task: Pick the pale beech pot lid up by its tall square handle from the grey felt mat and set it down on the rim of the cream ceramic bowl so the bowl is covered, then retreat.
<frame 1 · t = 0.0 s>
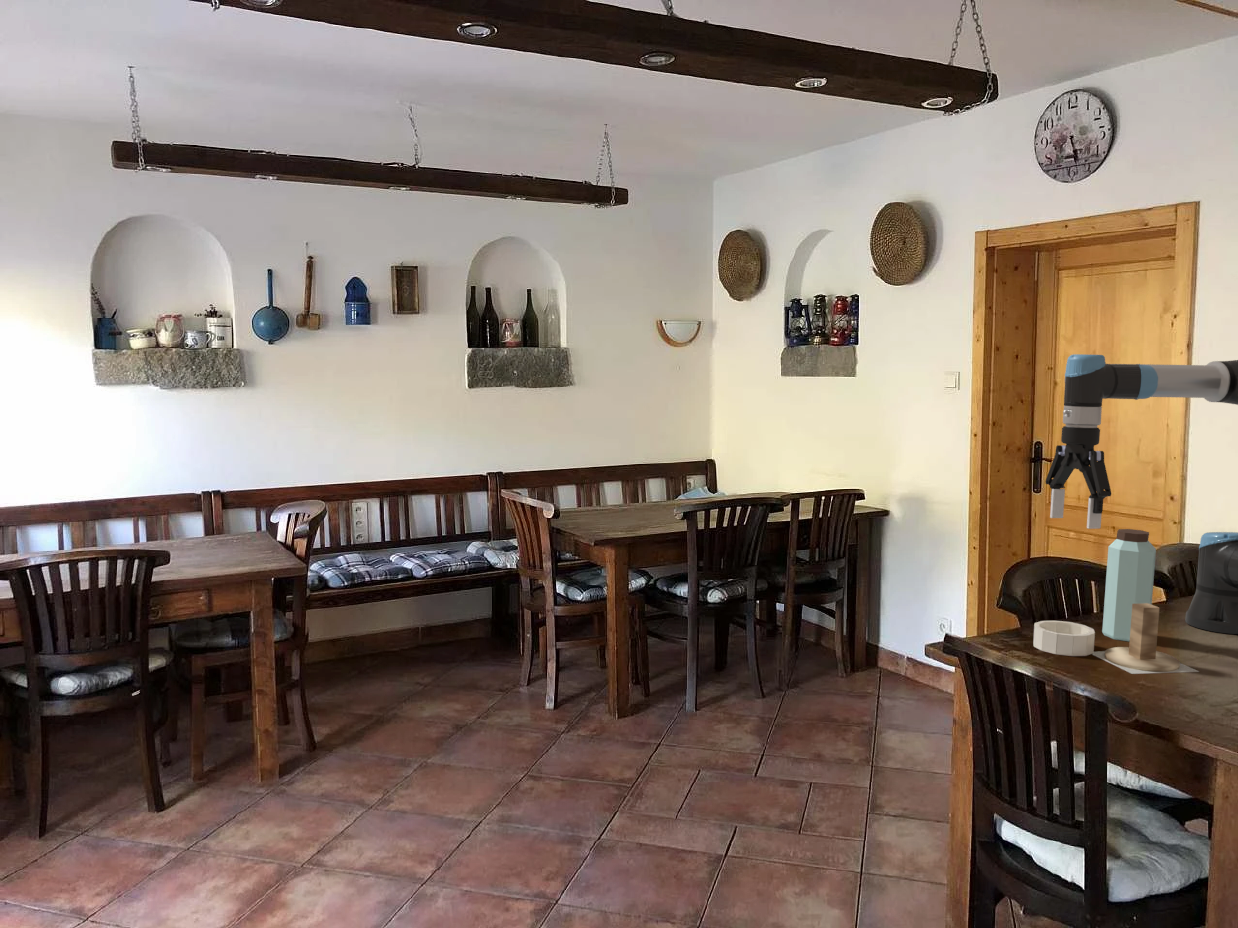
hand: (1074, 523, 219), 28 cm above the table, fingers open, 13 cm apart
mat: (1141, 663, 211), on the table
bowl: (1062, 650, 221), on the table
water bottle: (1125, 639, 230), on the table
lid: (1141, 661, 211), point 1 cm above the table, touching mat
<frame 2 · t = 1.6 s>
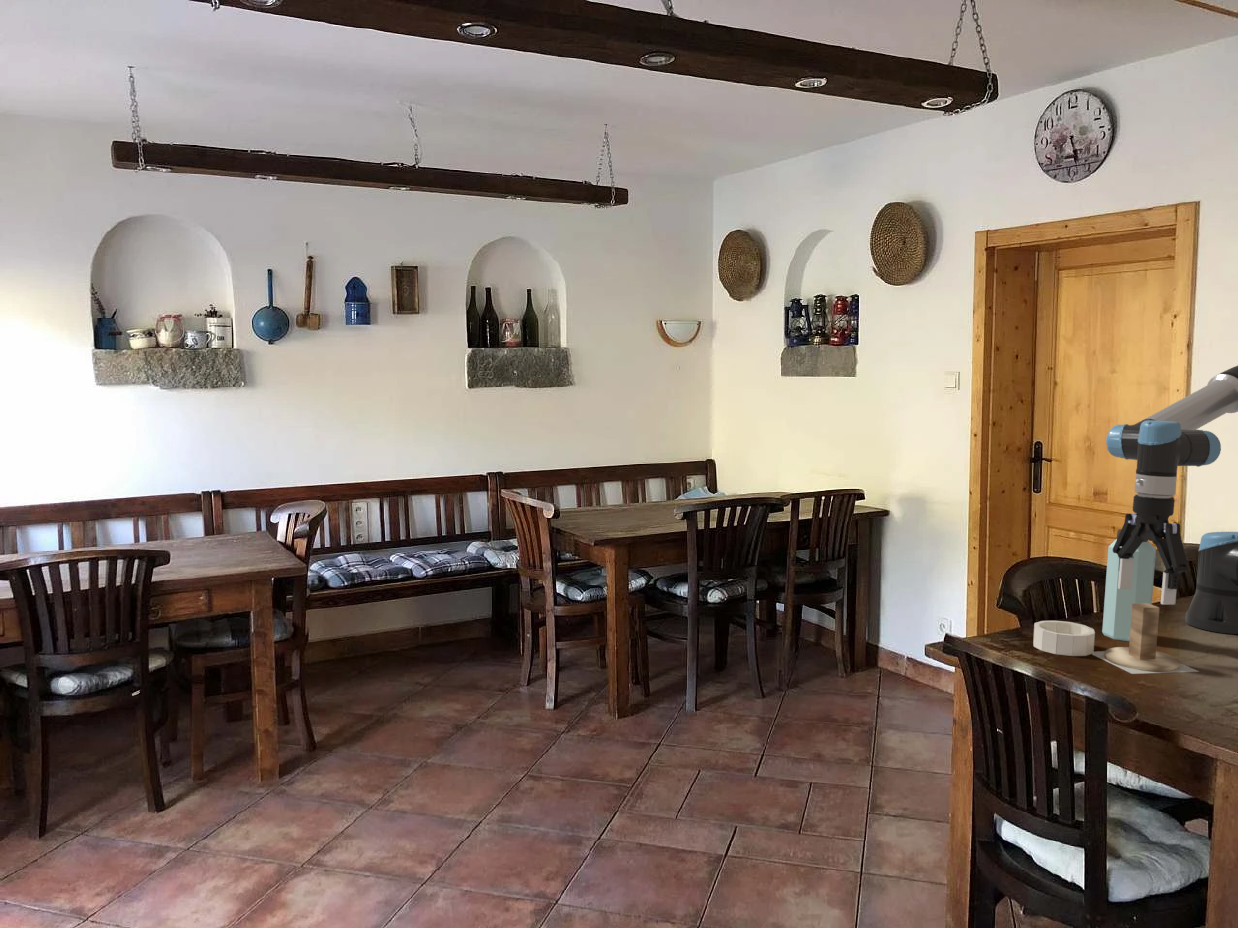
hand: (1145, 596, 210), 15 cm above the table, fingers open, 13 cm apart
nothing on the table moved.
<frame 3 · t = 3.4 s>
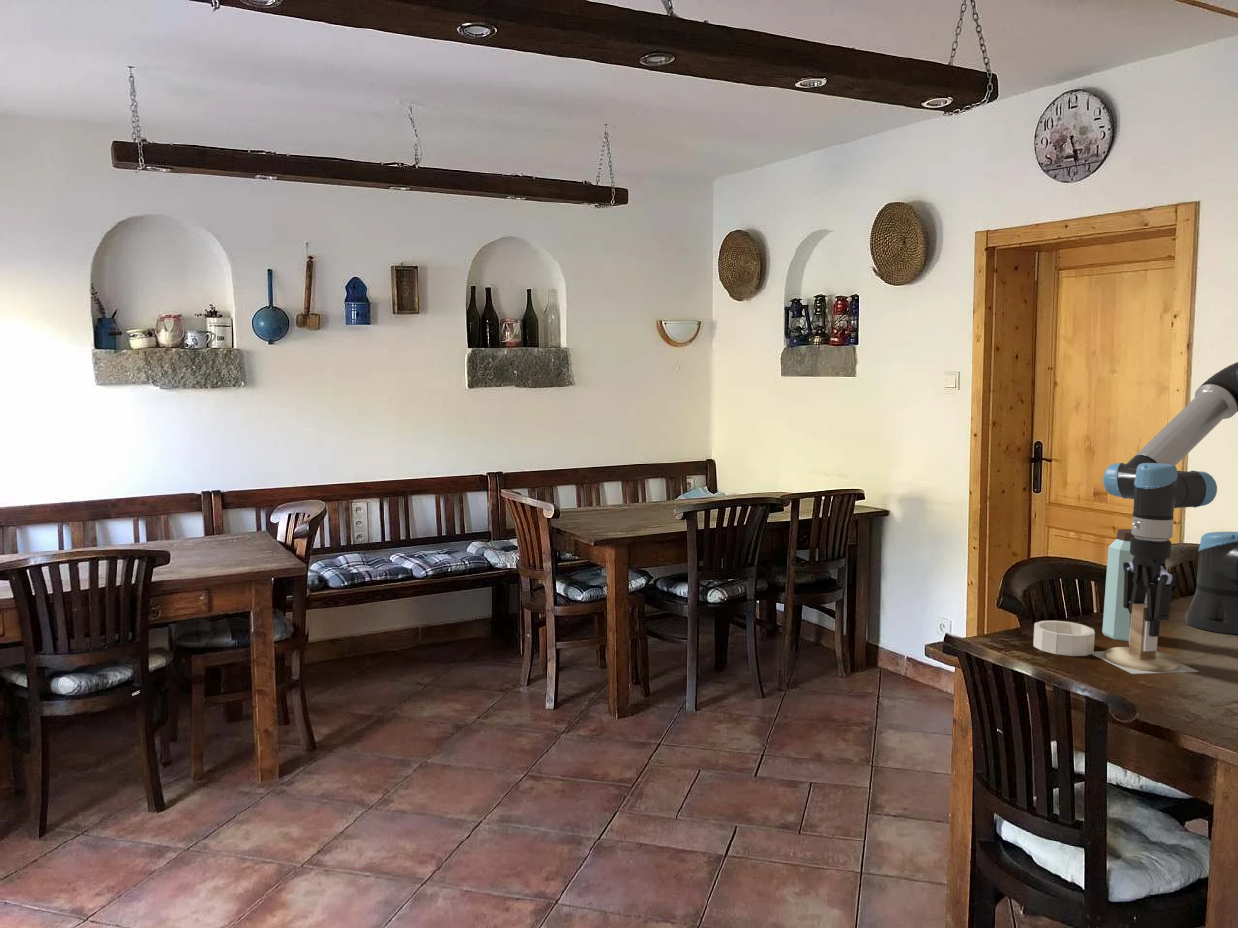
hand: (1142, 647, 211), 4 cm above the table, fingers closed on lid, 4 cm apart
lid: (1141, 661, 211), point 1 cm above the table, touching gripper
everything else where it was.
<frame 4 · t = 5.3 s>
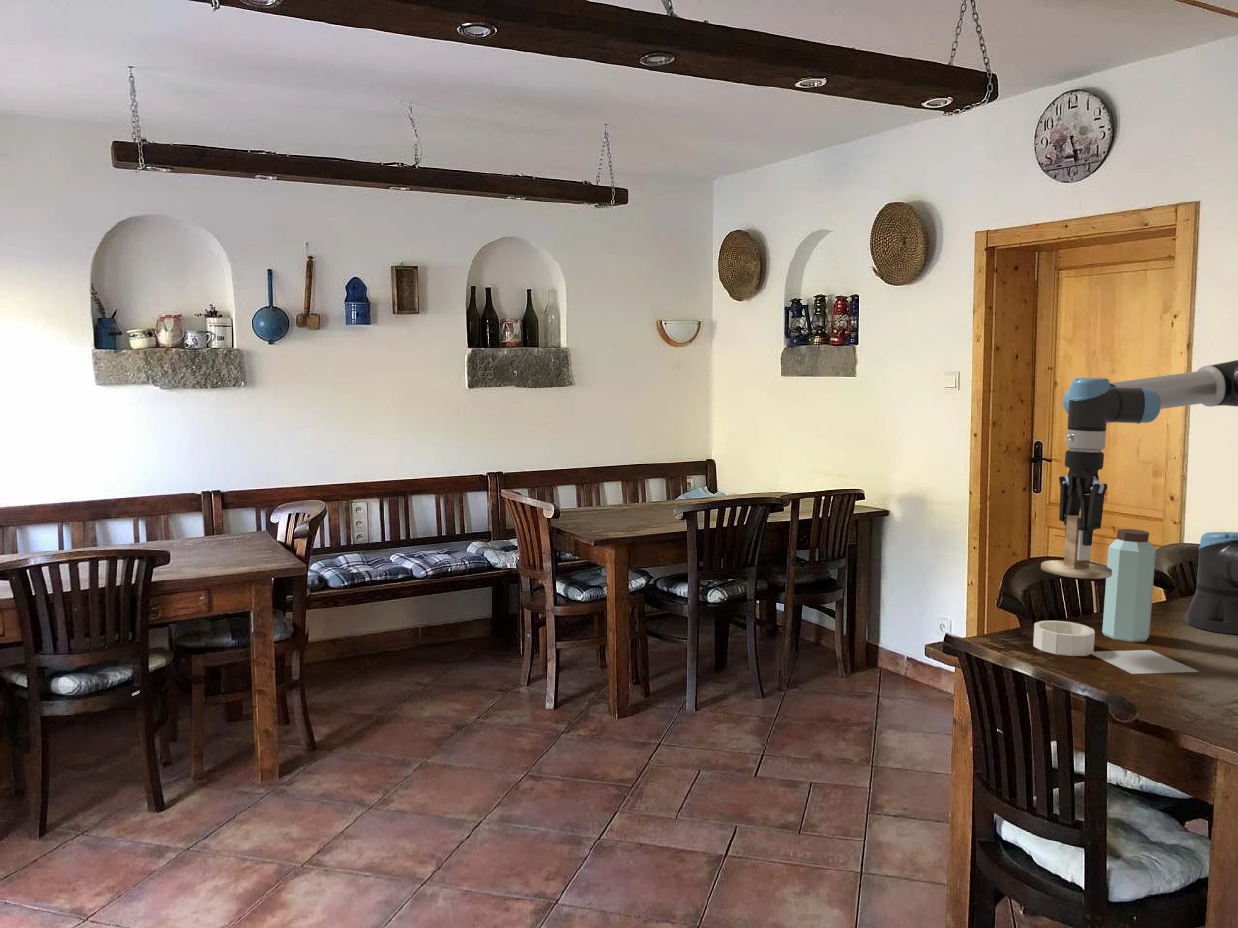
hand: (1076, 557, 217), 21 cm above the table, fingers closed on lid, 4 cm apart
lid: (1075, 571, 217), point 18 cm above the table, touching gripper
everything else where it was.
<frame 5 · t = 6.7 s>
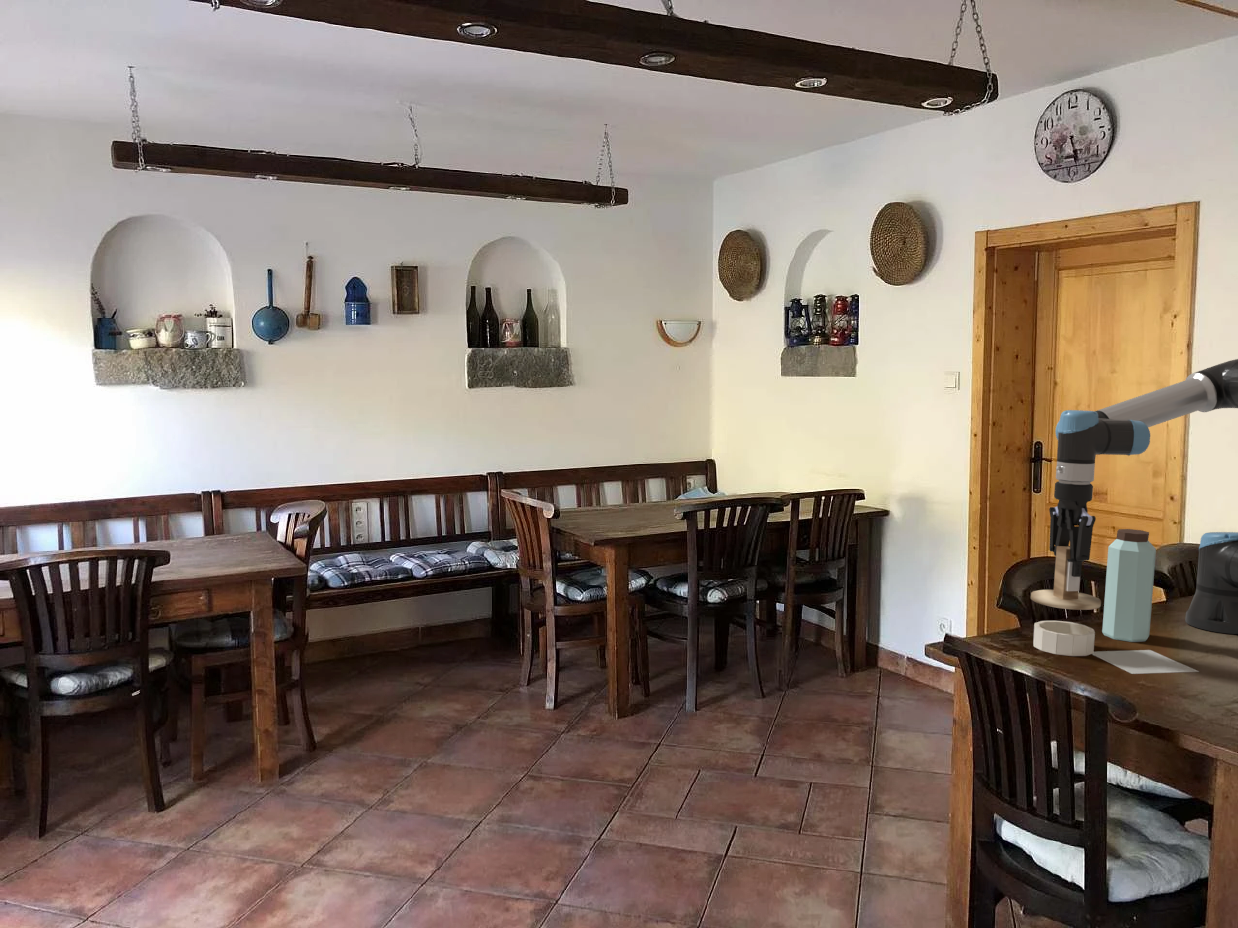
hand: (1066, 588, 219), 14 cm above the table, fingers closed on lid, 4 cm apart
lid: (1065, 601, 219), point 11 cm above the table, touching gripper
everything else where it was.
when the fingers open (10 cm above the table, at t = 7.7 s): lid drops 2 cm, resting on bowl.
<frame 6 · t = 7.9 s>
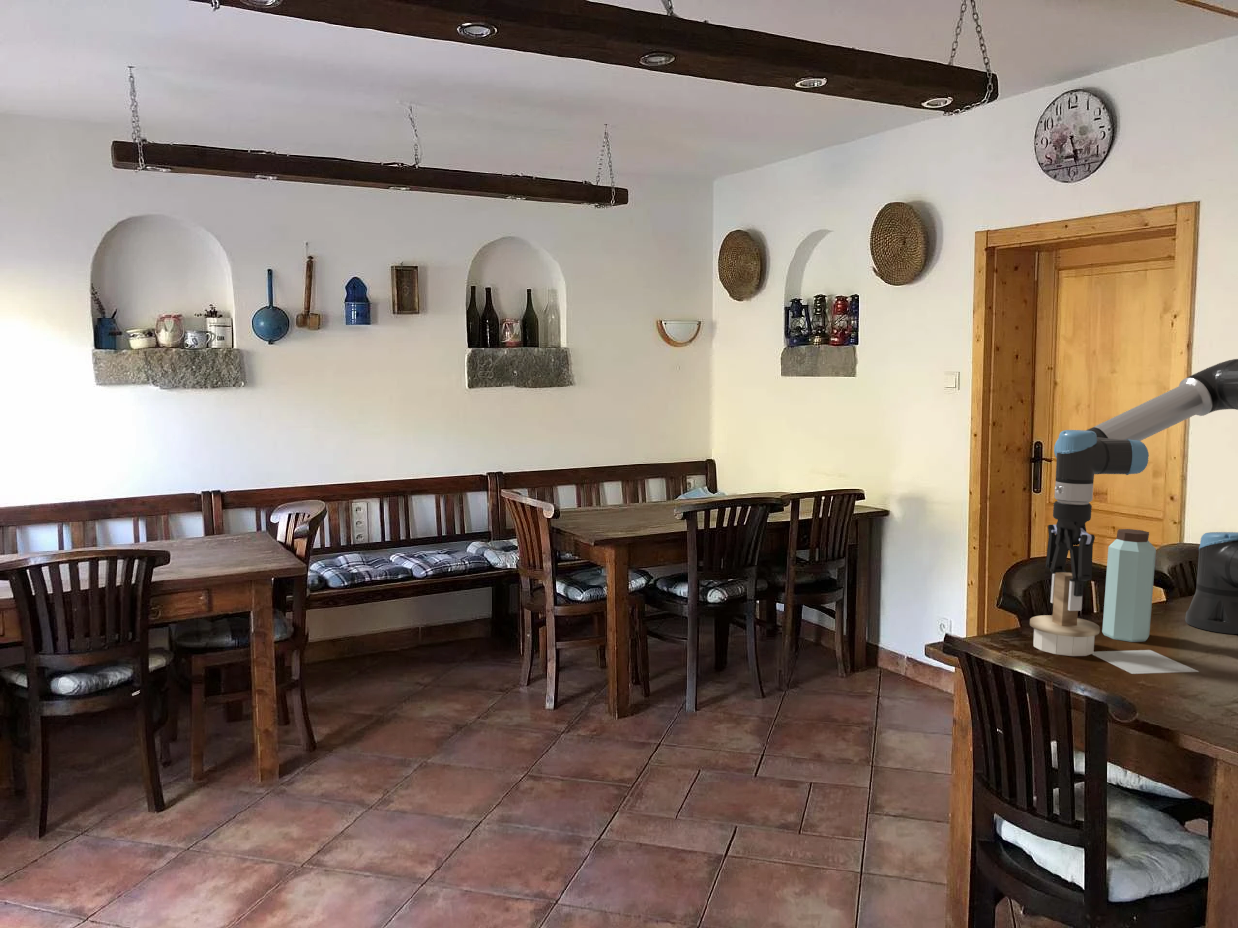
hand: (1065, 606, 219), 10 cm above the table, fingers open, 6 cm apart
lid: (1064, 627, 220), point 5 cm above the table, touching bowl
everything else where it was.
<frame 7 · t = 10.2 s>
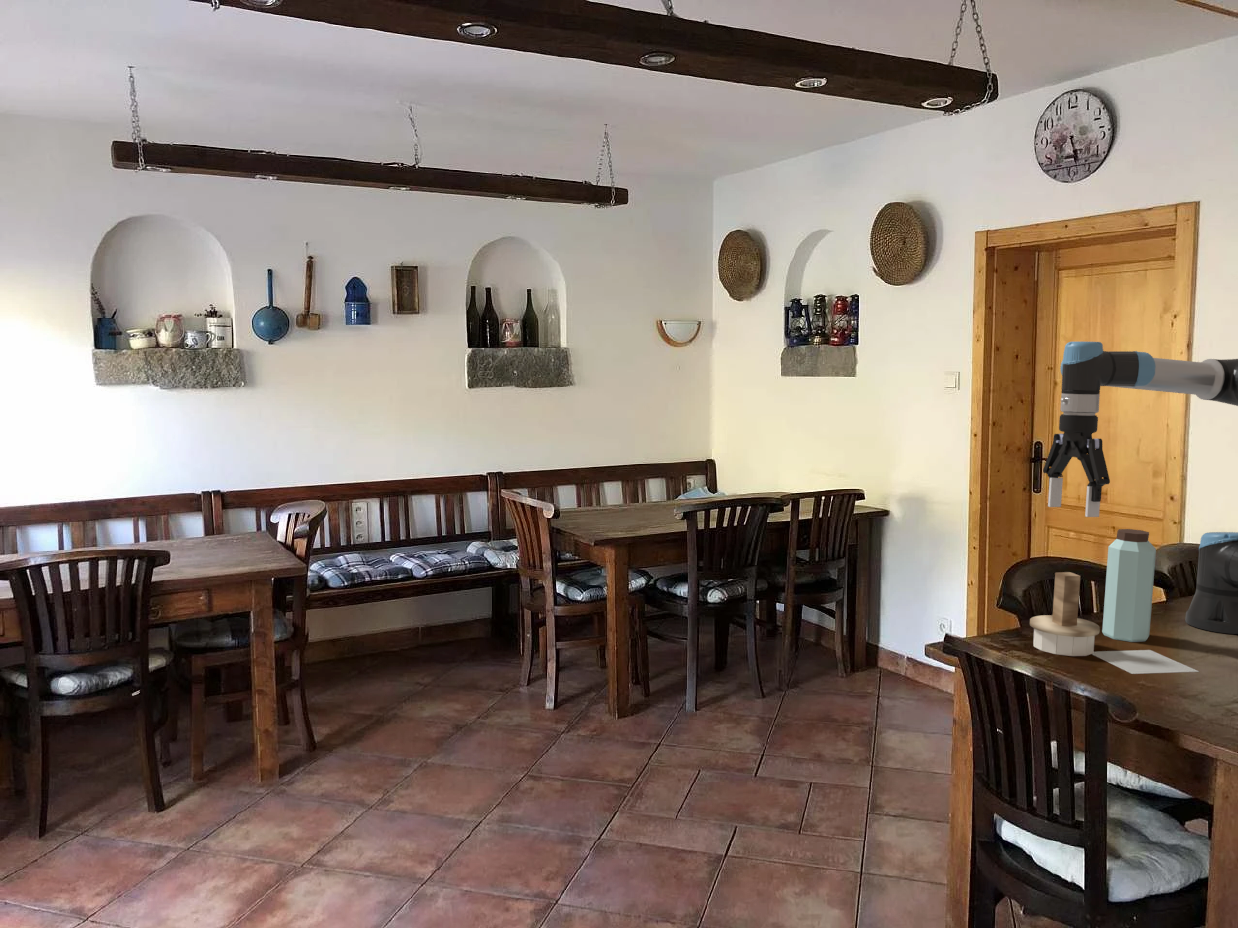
hand: (1072, 511, 218), 31 cm above the table, fingers open, 13 cm apart
nothing on the table moved.
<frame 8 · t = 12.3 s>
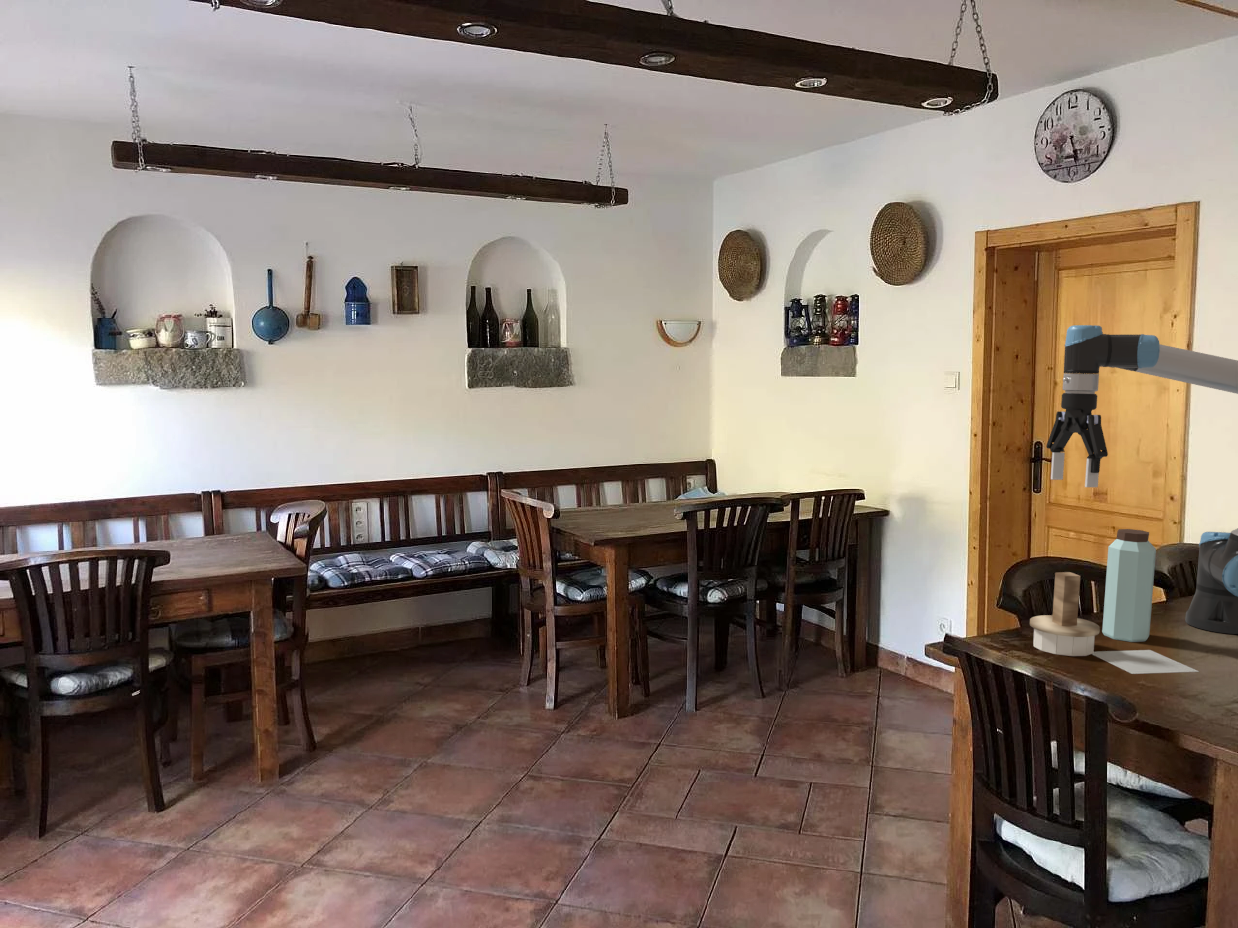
hand: (1073, 483, 235), 35 cm above the table, fingers open, 13 cm apart
nothing on the table moved.
at the end: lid 0.0 cm off-centre on the bowl, point 5.0 cm above the bowl's base; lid tilted 0°; the gripper is holding nothing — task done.
